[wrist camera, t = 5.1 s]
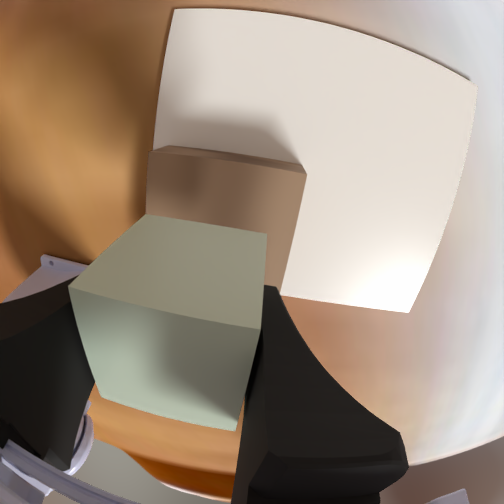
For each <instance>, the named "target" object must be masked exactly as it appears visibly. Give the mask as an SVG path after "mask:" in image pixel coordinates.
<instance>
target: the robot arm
mask: <svg viewBox="0 0 504 504" xmlns="http://www.w3.org/2000/svg"><path fill="white" fill-rule="evenodd" d="M40 259H41V265H42V266H41V267H40V268H38V269H37V270H36V271H35V272H34V273H33V274H32V275H30V276H29V277H28V278H27V279H26V280H25V281H24V282H22V283H21V284H20V285H19V286H18V287H17V288H16V289H15V290H14V291H13V292H12V293H10V294H9V295H8V296H7V297H6V298H5V300H4V301H3V302H2V303H0V504H42V502H43V499H44V497H45V496H48V494H49V493H50V492H51V491H53V490H55V491H57V492H58V493H60V494H62V495H64V496H66V497H68V498H70V499H72V500H74V501H76V502H78V503H80V504H140V503H136V502H133V501H131V500H128V499H125V498H122V497H119V496H117V495H114V494H111V493H108V492H106V491H104V490H101V489H99V488H96V487H94V486H92V485H89V484H87V483H85V482H83V481H81V480H79V479H76V478H74V477H72V475H73V474H74V473H76V472H77V471H78V470H79V468H80V467H81V466H82V465H83V463H84V462H85V460H86V458H87V456H88V454H89V452H90V450H91V447H92V444H93V438H94V431H93V422H92V419H91V417H90V416H89V415H88V414H86V413H87V411H88V409H89V407H90V405H91V402H90V401H89V400H88V398H89V396H90V393H91V391H92V388H93V386H94V383H95V379H94V377H93V374H92V371H91V368H90V365H89V362H88V359H87V356H86V353H85V350H84V347H83V343H82V340H81V337H80V333H79V330H78V326H77V322H76V319H75V315H74V311H73V307H72V302H71V298H70V293H69V289H68V286H69V285H70V284H71V283H72V282H73V281H74V280H75V279H76V278H77V277H78V276H79V275H80V274H81V273H82V272H83V271H84V270H85V269H86V268H87V267H88V266H89V265H84V264H80V263H76V262H72V261H68V260H65V259H61V258H57V257H53V256H49V255H46V254H44V255H42V256H41V258H40ZM408 468H409V465H408V461H407V456H406V451H405V446H404V443H403V440H402V437H401V435H400V432H398V431H397V430H395V429H394V428H392V427H391V426H389V425H388V424H387V423H385V422H384V421H382V420H381V419H379V418H378V417H376V416H375V415H374V414H372V413H371V412H370V411H368V410H367V409H366V408H365V407H364V406H362V405H361V404H360V403H359V402H358V401H356V400H355V399H354V398H353V397H352V396H351V395H350V394H349V393H348V392H346V391H345V390H344V389H343V388H342V387H341V386H340V385H339V383H338V382H337V381H336V380H335V379H334V378H333V377H332V376H331V375H330V374H329V373H328V372H327V371H326V370H325V368H324V367H323V366H322V365H321V363H320V362H319V361H318V360H317V358H316V357H315V356H314V354H313V353H312V352H311V350H310V349H309V347H308V346H307V344H306V343H305V341H304V340H303V338H302V336H301V335H300V333H299V331H298V330H297V328H296V326H295V324H294V322H293V321H292V319H291V317H290V315H289V313H288V311H287V309H286V307H285V305H284V303H283V300H282V298H281V296H280V293H279V290H278V289H277V287H276V286H270V285H264V290H263V304H262V318H261V330H260V334H259V339H258V343H257V347H256V351H255V355H254V359H253V363H252V368H251V372H250V376H249V380H248V384H247V388H246V392H245V405H244V418H243V425H242V433H241V440H240V447H239V454H238V461H237V468H236V474H235V481H234V487H233V493H232V499H231V504H380V496H379V492H380V491H382V490H384V489H385V488H387V487H388V486H390V485H391V484H393V483H394V482H396V481H397V480H399V479H400V478H401V477H402V476H403V475H404V474H405V473H406V471H407V470H408ZM425 504H469V501H468V497H467V493H466V489H461V490H458V491H456V492H453V493H450V494H448V495H445V496H442V497H439V498H436V499H434V500H432V501H429V502H427V503H425Z"/></svg>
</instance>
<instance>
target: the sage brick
mask: <svg viewBox="0 0 504 504" xmlns="http://www.w3.org/2000/svg"><path fill="white" fill-rule="evenodd" d="M266 245H267V234H265V233H260V232H254V231H248V230H242V229H236V228H230V227H224V226H218V225H212V224H206V223H200V222H194V221H187V220H181V219H175V218H168V217H162V216H155V215H149V214H145V215H144V216H143V217H142V218H141V219H139V220H138V221H137V222H136V223H135V224H134V225H132V226H131V227H130V228H129V229H128V230H127V231H126V232H125V233H123V234H122V235H121V236H120V237H119V238H118V239H117V240H116V241H114V242H113V243H112V244H111V245H110V246H109V247H108V248H107V249H106V250H105V251H104V252H103V253H101V254H100V255H99V256H98V257H97V258H96V259H95V260H94V261H93V262H92V263H91V264H90V265H89V266H88V267H87V268H86V269H85V270H84V271H83V272H82V273H81V274H80V275H79V276H78V277H77V278H76V279H75V280H74V281H73V282H72V283H71V284H70V285H69V286H68V289H69V293H70V298H71V302H72V307H73V311H74V315H75V319H76V322H77V326H78V330H79V333H80V337H81V340H82V343H83V347H84V350H85V353H86V356H87V359H88V362H89V365H90V368H91V371H92V374H93V377H94V379H95V382H96V385H97V387H98V390H99V392H100V395H101V397H103V398H105V399H108V400H111V401H114V402H117V403H120V404H123V405H126V406H129V407H132V408H135V409H138V410H142V411H145V412H149V413H152V414H156V415H159V416H163V417H167V418H171V419H175V420H179V421H184V422H188V423H193V424H197V425H202V426H207V427H213V428H218V429H224V430H231V431H235V430H236V426H237V423H238V419H239V415H240V411H241V407H242V403H243V399H244V396H245V392H246V388H247V384H248V380H249V376H250V372H251V368H252V363H253V359H254V355H255V351H256V347H257V343H258V339H259V334H260V330H261V318H262V304H263V290H264V276H265V261H266Z"/></svg>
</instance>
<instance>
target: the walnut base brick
mask: <svg viewBox="0 0 504 504" xmlns="http://www.w3.org/2000/svg"><path fill="white" fill-rule="evenodd" d="M306 178H307V173H306V171H305V169H304V168H303V166H302V165H301V164H296V163H291V162H286V161H280V160H275V159H269V158H263V157H257V156H251V155H245V154H238V153H231V152H224V151H216V150H209V149H200V148H191V147H182V146H171V145H168V146H164V147H161V148H158V149H155V150H152V151H149V152H148V167H147V186H146V214H149V215H155V216H162V217H168V218H175V219H181V220H187V221H194V222H200V223H206V224H212V225H218V226H224V227H230V228H236V229H242V230H248V231H254V232H260V233H265V234H267V245H266V261H265V276H264V285H270V286H276V287H277V289H278V290H279V293H280V291H281V287H282V283H283V279H284V275H285V271H286V267H287V262H288V258H289V254H290V250H291V246H292V241H293V237H294V233H295V228H296V224H297V219H298V215H299V211H300V206H301V201H302V197H303V192H304V188H305V183H306Z"/></svg>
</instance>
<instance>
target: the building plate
mask: <svg viewBox="0 0 504 504" xmlns="http://www.w3.org/2000/svg"><path fill="white" fill-rule="evenodd" d="M477 90H478V86H477V85H475V84H474V83H472V82H470V81H469V80H467V79H465V78H464V77H462V76H460V75H458V74H456V73H455V72H453V71H451V70H449V69H447V68H445V67H443V66H441V65H439V64H437V63H435V62H433V61H431V60H429V59H427V58H425V57H423V56H420V55H418V54H416V53H414V52H411V51H409V50H406V49H404V48H402V47H399V46H397V45H394V44H391V43H389V42H386V41H383V40H380V39H378V38H375V37H372V36H369V35H366V34H363V33H359V32H356V31H353V30H349V29H346V28H342V27H338V26H335V25H331V24H327V23H322V22H318V21H313V20H309V19H304V18H298V17H293V16H287V15H280V14H273V13H266V12H257V11H246V10H233V9H175V10H174V14H173V19H172V23H171V28H170V33H169V37H168V43H167V48H166V53H165V59H164V65H163V71H162V77H161V84H160V90H159V98H158V106H157V114H156V123H155V133H154V144H153V150H155V149H158V148H161V147H164V146H168V145H171V146H182V147H191V148H200V149H209V150H216V151H224V152H231V153H238V154H245V155H251V156H257V157H263V158H269V159H275V160H280V161H286V162H291V163H296V164H301V165H302V166H303V168H304V169H305V171H306V173H307V178H306V183H305V188H304V192H303V197H302V201H301V206H300V211H299V215H298V219H297V224H296V228H295V233H294V237H293V241H292V246H291V250H290V254H289V258H288V262H287V267H286V271H285V275H284V279H283V283H282V287H281V291H280V295H284V296H290V297H297V298H303V299H310V300H316V301H323V302H330V303H337V304H344V305H352V306H359V307H366V308H374V309H382V310H390V311H399V312H407V313H409V311H410V309H411V307H412V305H413V303H414V301H415V299H416V297H417V294H418V292H419V290H420V288H421V286H422V284H423V281H424V279H425V277H426V275H427V272H428V270H429V268H430V265H431V263H432V261H433V258H434V256H435V253H436V251H437V248H438V246H439V243H440V240H441V238H442V235H443V232H444V230H445V227H446V224H447V221H448V218H449V215H450V212H451V209H452V206H453V203H454V199H455V196H456V193H457V189H458V186H459V182H460V179H461V175H462V171H463V167H464V163H465V159H466V155H467V150H468V145H469V141H470V136H471V130H472V125H473V119H474V112H475V106H476V98H477Z"/></svg>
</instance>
